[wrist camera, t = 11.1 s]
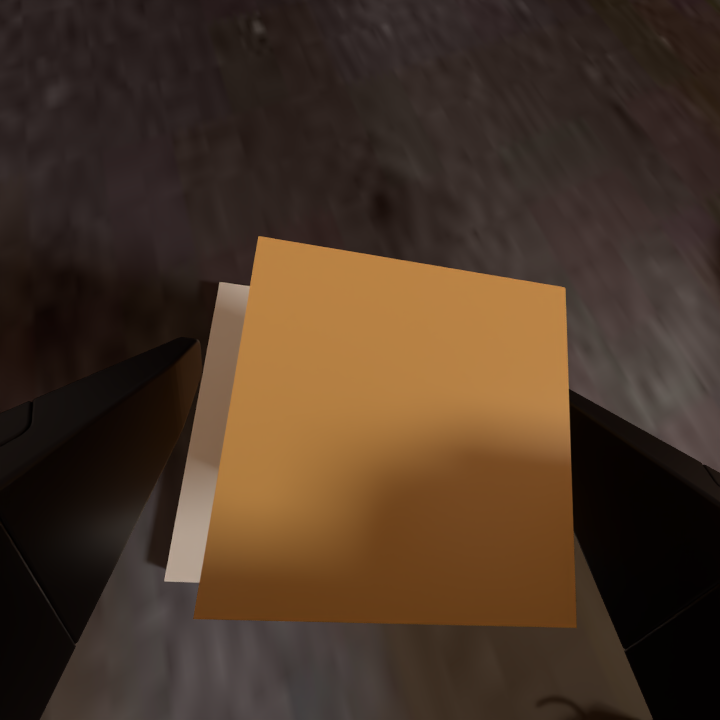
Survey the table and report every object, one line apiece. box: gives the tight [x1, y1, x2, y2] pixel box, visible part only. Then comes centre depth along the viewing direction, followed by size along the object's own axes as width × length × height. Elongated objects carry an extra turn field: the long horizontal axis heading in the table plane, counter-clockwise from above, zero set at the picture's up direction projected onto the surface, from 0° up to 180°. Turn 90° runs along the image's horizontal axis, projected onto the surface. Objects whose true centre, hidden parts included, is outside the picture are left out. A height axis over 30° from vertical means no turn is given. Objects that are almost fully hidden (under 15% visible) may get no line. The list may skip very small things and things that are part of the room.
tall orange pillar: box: [193, 236, 577, 628], centre depth 11 cm, size 6×6×11 cm
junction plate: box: [164, 282, 250, 582], centre depth 16 cm, size 13×13×4 cm
